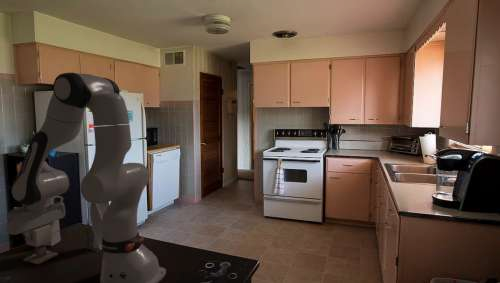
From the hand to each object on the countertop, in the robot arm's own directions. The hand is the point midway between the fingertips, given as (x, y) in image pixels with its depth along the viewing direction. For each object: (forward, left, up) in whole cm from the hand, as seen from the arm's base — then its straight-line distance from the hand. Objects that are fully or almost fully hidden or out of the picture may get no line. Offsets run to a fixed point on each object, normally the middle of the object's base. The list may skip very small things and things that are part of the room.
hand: (39, 236), depth 116 cm
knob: (0, 0, -2) cm, 2 cm away
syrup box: (+9, -10, -9) cm, 16 cm away
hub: (0, 0, -9) cm, 9 cm away
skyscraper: (-14, -16, -9) cm, 23 cm away
